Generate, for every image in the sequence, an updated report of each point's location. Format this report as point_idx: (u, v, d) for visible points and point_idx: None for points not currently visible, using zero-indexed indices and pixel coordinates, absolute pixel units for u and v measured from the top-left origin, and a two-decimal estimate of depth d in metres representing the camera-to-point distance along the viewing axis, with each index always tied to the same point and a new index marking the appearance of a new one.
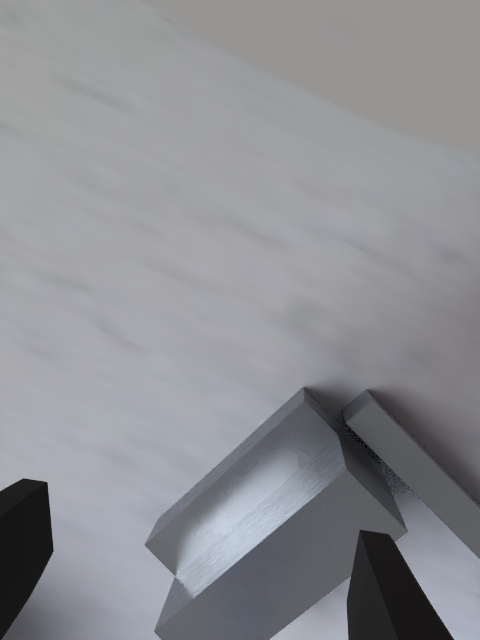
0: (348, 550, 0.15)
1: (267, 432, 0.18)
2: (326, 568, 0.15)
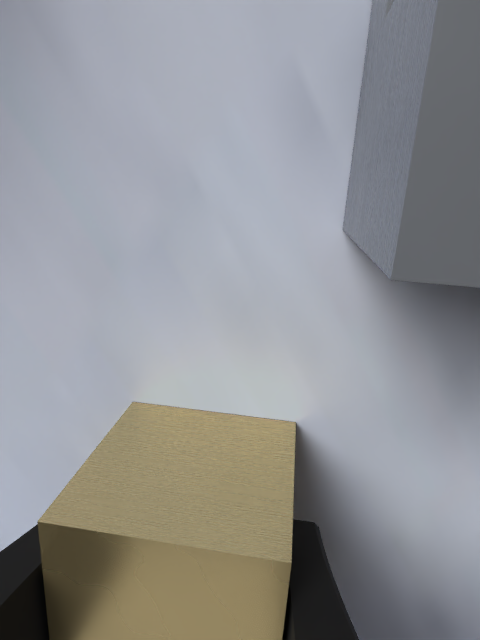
0: None
1: None
2: None
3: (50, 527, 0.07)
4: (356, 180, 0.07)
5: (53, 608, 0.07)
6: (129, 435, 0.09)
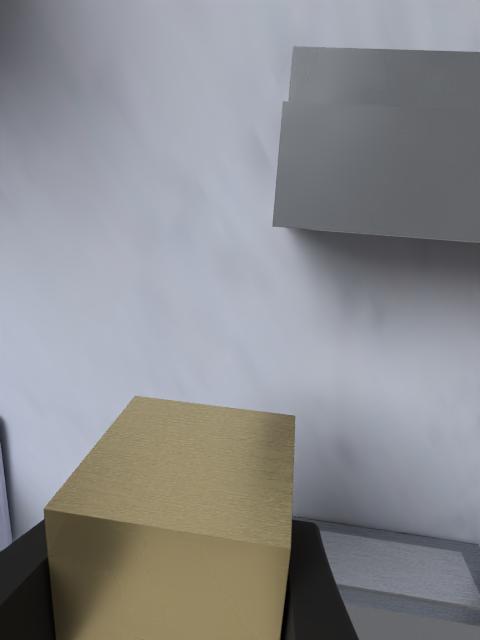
0: None
1: None
2: None
3: (56, 514, 0.07)
4: None
5: (58, 594, 0.07)
6: (132, 427, 0.09)
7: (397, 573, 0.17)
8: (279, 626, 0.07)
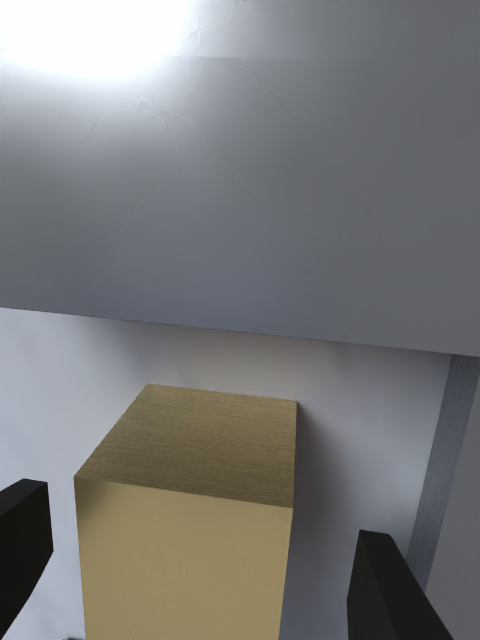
0: (414, 286, 0.05)
1: None
2: (320, 278, 0.05)
3: (84, 481, 0.08)
4: None
5: (85, 555, 0.08)
6: (147, 409, 0.10)
7: None
8: (283, 580, 0.08)
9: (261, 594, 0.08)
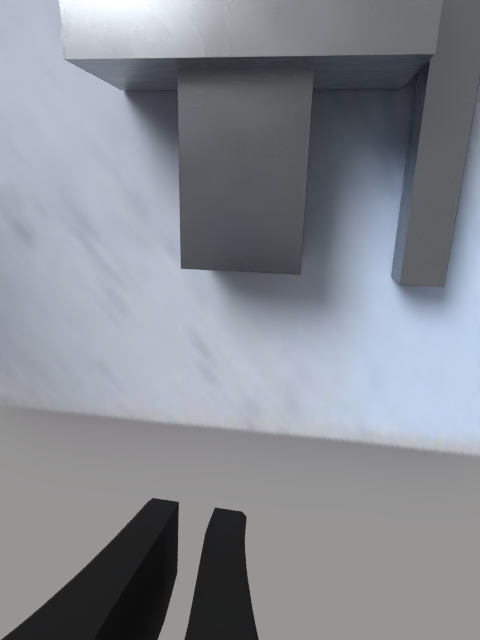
0: None
1: None
2: None
3: None
4: None
5: None
6: None
7: None
8: None
9: None
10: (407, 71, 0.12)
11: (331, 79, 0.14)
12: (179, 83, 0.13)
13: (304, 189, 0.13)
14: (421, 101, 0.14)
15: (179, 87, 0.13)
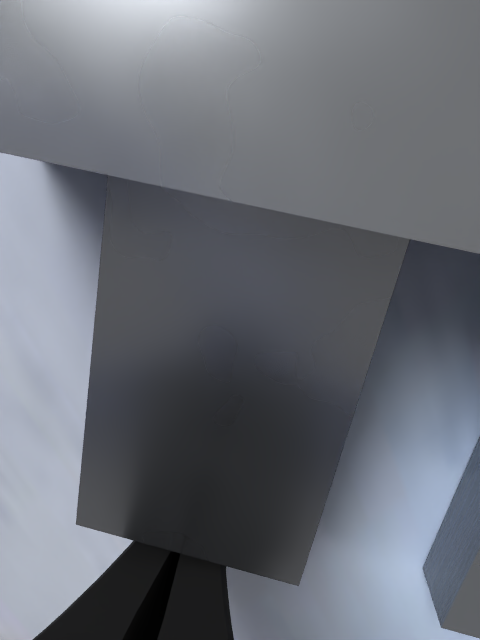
0: None
1: None
2: None
3: None
4: None
5: None
6: None
7: None
8: None
9: None
10: None
11: None
12: (109, 203, 0.06)
13: (336, 454, 0.06)
14: None
15: (108, 211, 0.06)
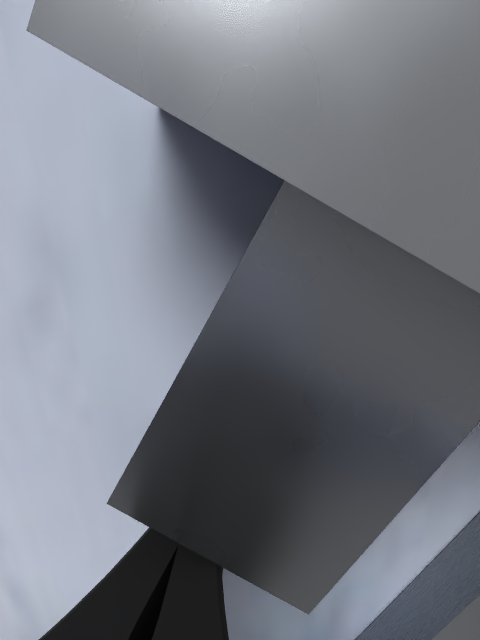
0: None
1: None
2: None
3: None
4: None
5: None
6: None
7: None
8: None
9: None
10: None
11: None
12: (272, 211, 0.06)
13: (396, 509, 0.07)
14: None
15: (268, 219, 0.06)
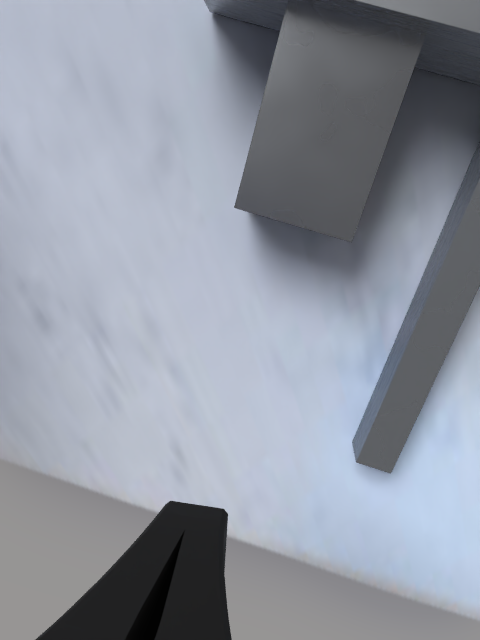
0: None
1: None
2: None
3: None
4: None
5: None
6: None
7: None
8: None
9: None
10: None
11: (430, 56, 0.13)
12: (286, 15, 0.12)
13: (380, 157, 0.13)
14: (409, 332, 0.17)
15: (285, 19, 0.12)
